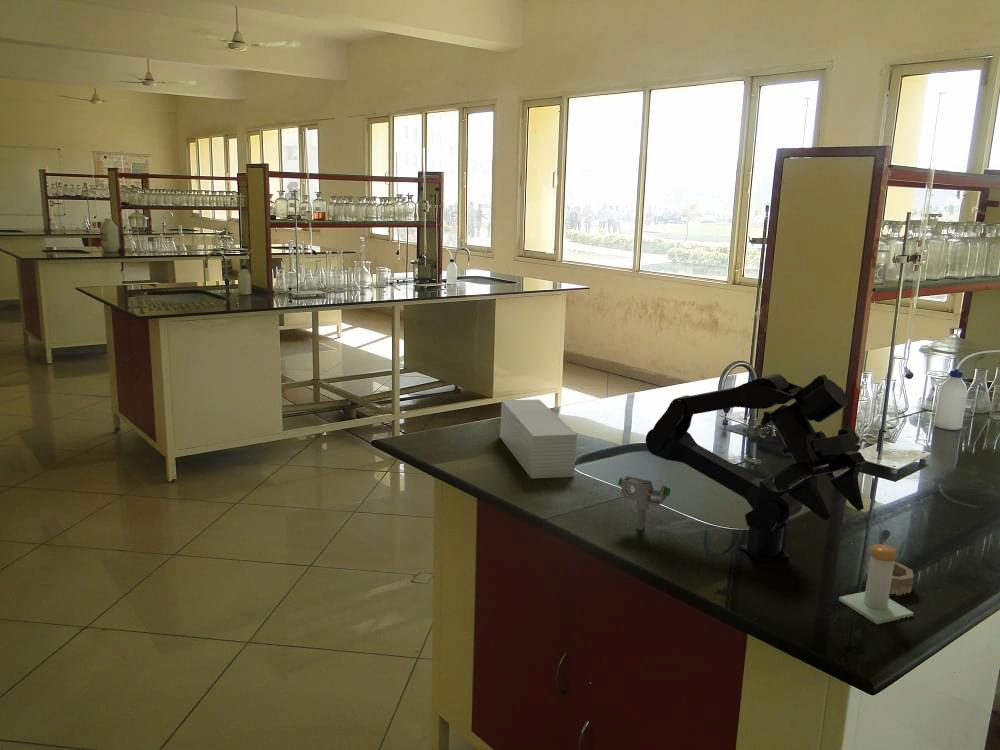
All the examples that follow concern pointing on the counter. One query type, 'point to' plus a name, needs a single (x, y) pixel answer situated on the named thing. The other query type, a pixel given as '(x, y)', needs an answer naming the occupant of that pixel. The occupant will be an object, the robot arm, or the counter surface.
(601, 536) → the counter surface
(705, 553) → the counter surface
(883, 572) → the bottle with orange cap
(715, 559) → the counter surface
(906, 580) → the beige hollow ring
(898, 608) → the mat
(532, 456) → the stack of papers
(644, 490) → the mechanical component
